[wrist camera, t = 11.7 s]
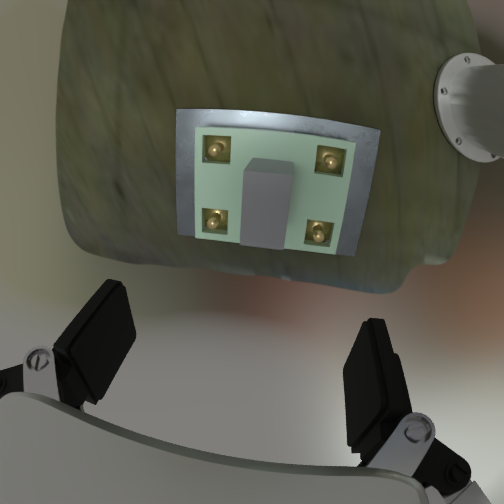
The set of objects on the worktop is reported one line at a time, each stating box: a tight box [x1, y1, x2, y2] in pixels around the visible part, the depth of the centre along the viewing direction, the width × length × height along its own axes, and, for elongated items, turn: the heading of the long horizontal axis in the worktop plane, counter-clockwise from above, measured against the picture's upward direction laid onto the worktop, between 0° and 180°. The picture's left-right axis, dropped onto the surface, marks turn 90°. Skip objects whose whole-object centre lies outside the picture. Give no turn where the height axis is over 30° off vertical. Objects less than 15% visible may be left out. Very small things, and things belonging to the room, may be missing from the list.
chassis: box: [176, 109, 381, 256], centre depth 27 cm, size 20×14×5 cm
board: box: [195, 126, 356, 254], centre depth 24 cm, size 14×11×6 cm
